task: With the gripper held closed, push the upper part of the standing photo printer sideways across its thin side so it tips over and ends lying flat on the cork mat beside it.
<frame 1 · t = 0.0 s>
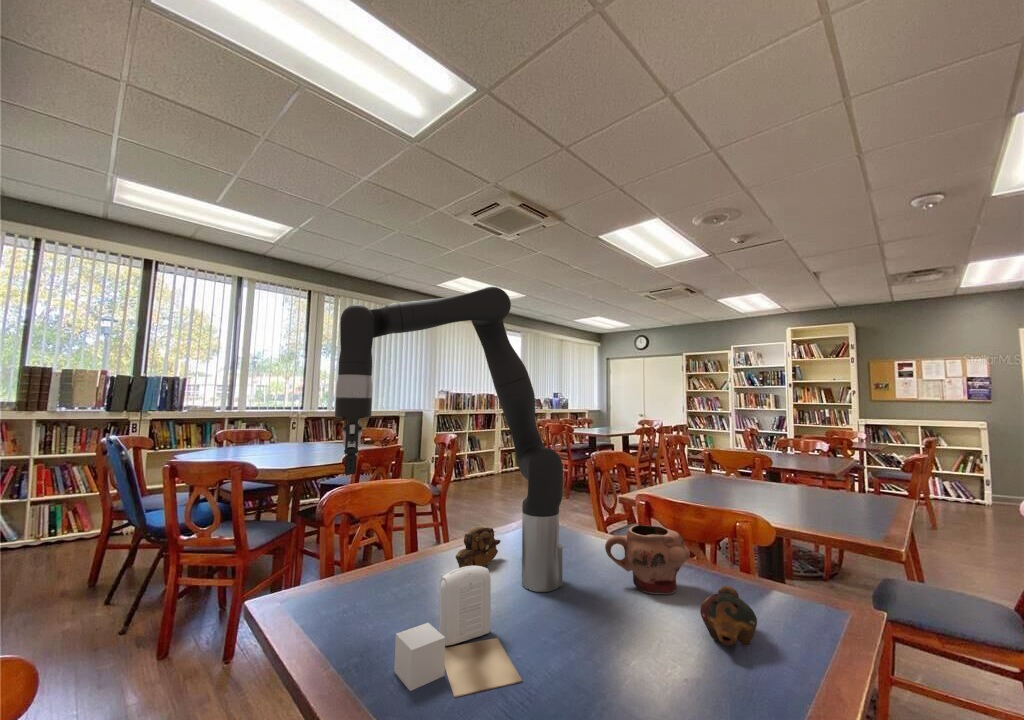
hand: (350, 471, 91), 29 cm above the table, tool pointing down, fingers open, 8 cm apart
cork mat: (478, 665, 71), on the table
wooden carving: (479, 567, 115), on the table
photo printer: (465, 637, 80), on the table, touching cork mat
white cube: (419, 675, 69), on the table
decorative turtle: (729, 641, 80), on the table
sculpted ceramic mug: (647, 588, 102), on the table
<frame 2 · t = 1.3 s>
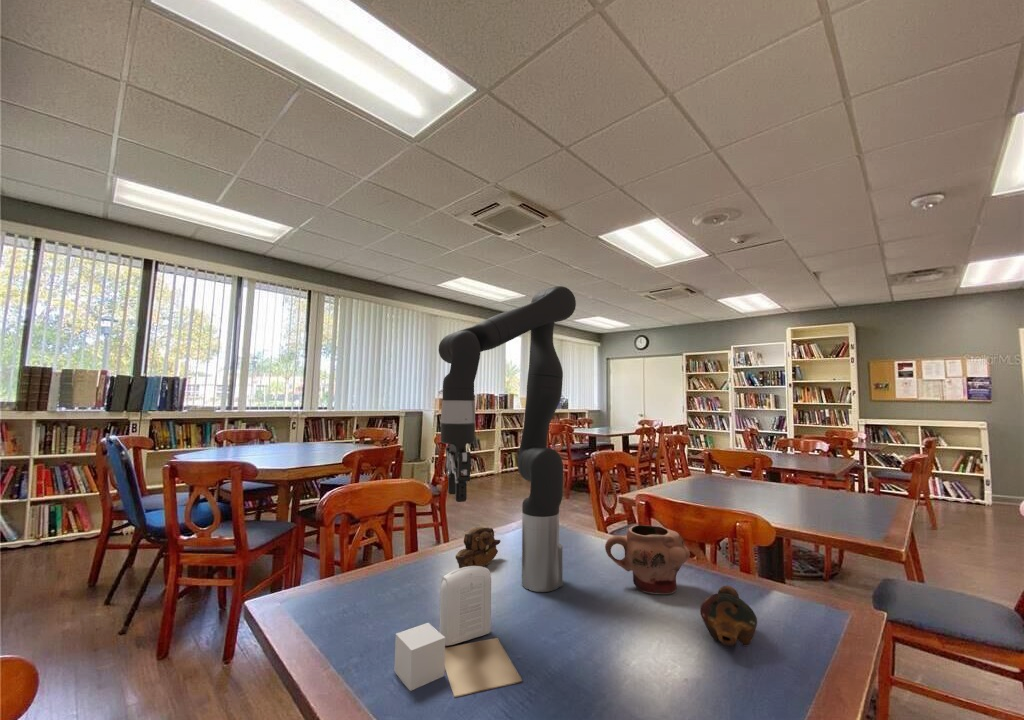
hand: (456, 497, 92), 24 cm above the table, tool pointing down, fingers open, 7 cm apart
nothing on the table moved.
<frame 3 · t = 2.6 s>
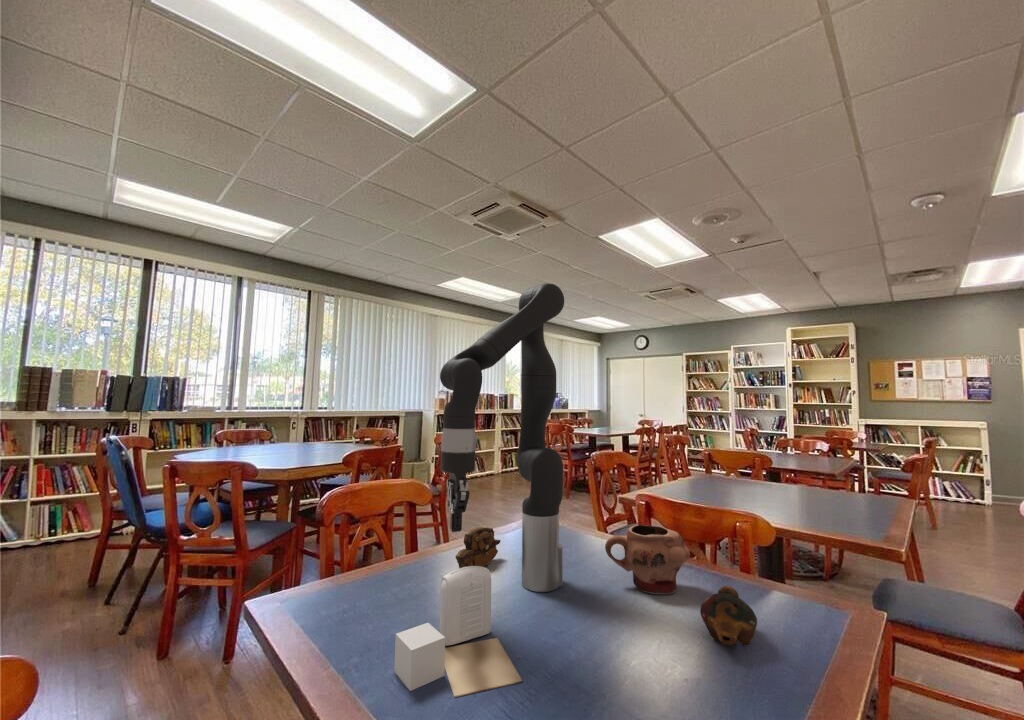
hand: (455, 530, 91), 17 cm above the table, tool pointing down, fingers closed
nothing on the table moved.
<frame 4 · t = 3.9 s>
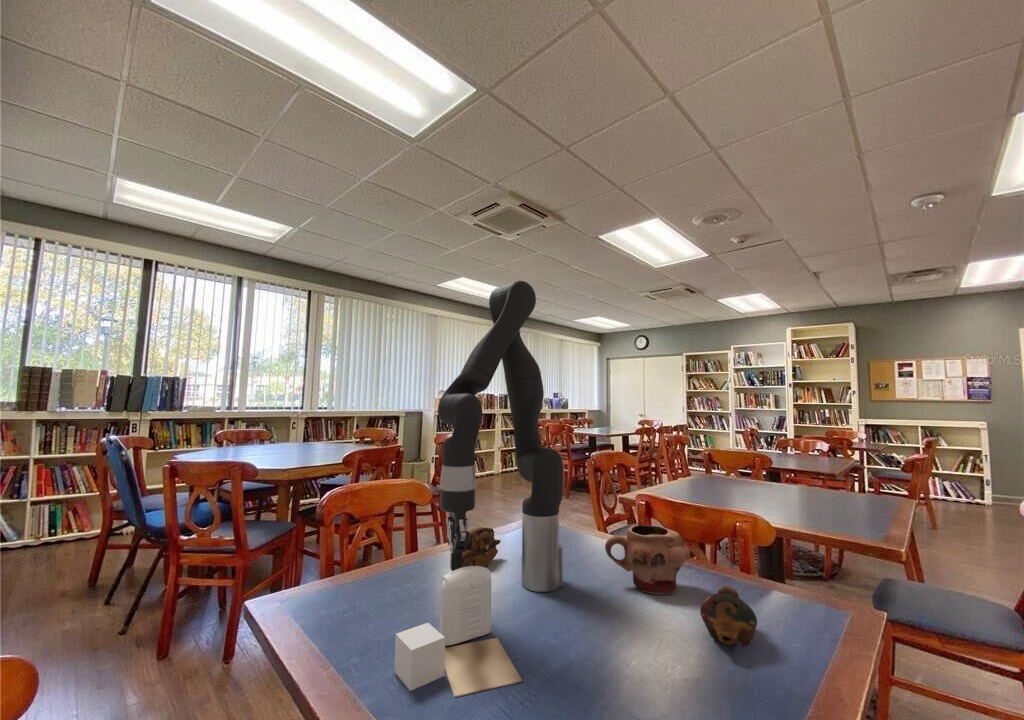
hand: (456, 570, 89), 9 cm above the table, tool pointing down, fingers closed
nothing on the table moved.
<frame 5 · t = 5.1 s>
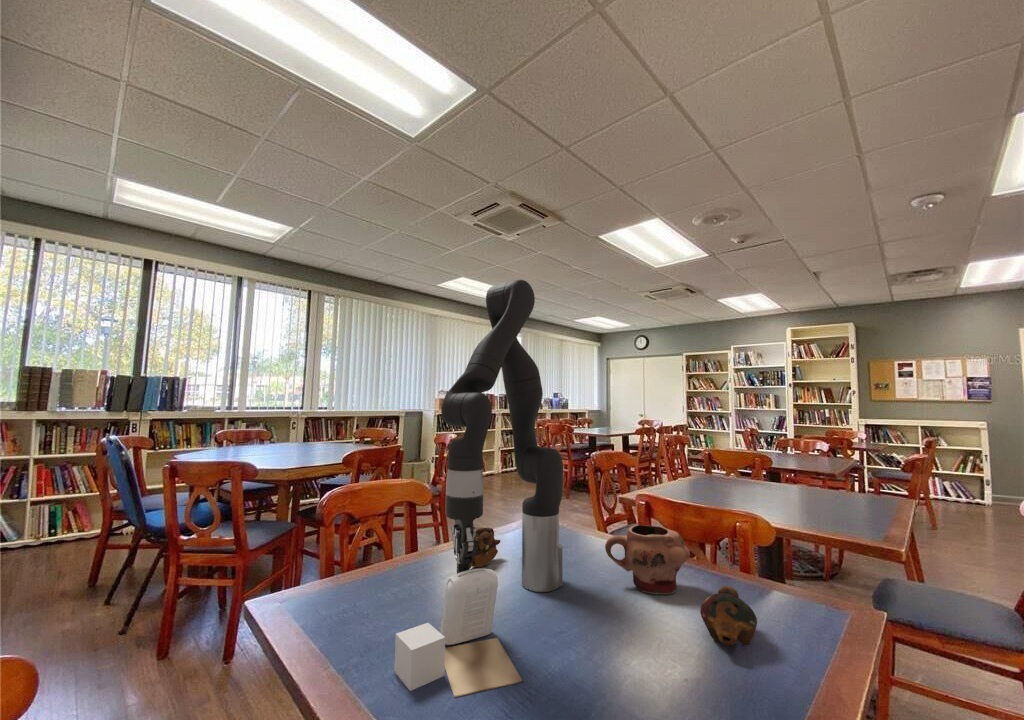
hand: (462, 582, 83), 9 cm above the table, tool pointing down, fingers closed
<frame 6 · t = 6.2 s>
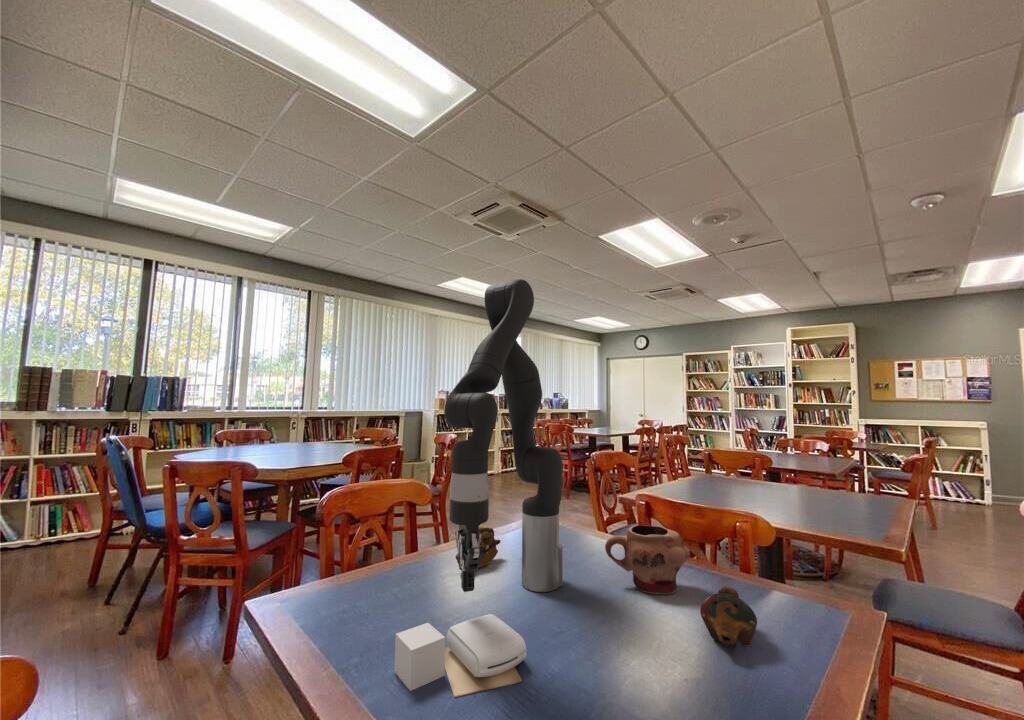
hand: (467, 589, 80), 9 cm above the table, tool pointing down, fingers closed
photo printer: (470, 628, 78), point 2 cm above the table, touching cork mat
everything else where it was.
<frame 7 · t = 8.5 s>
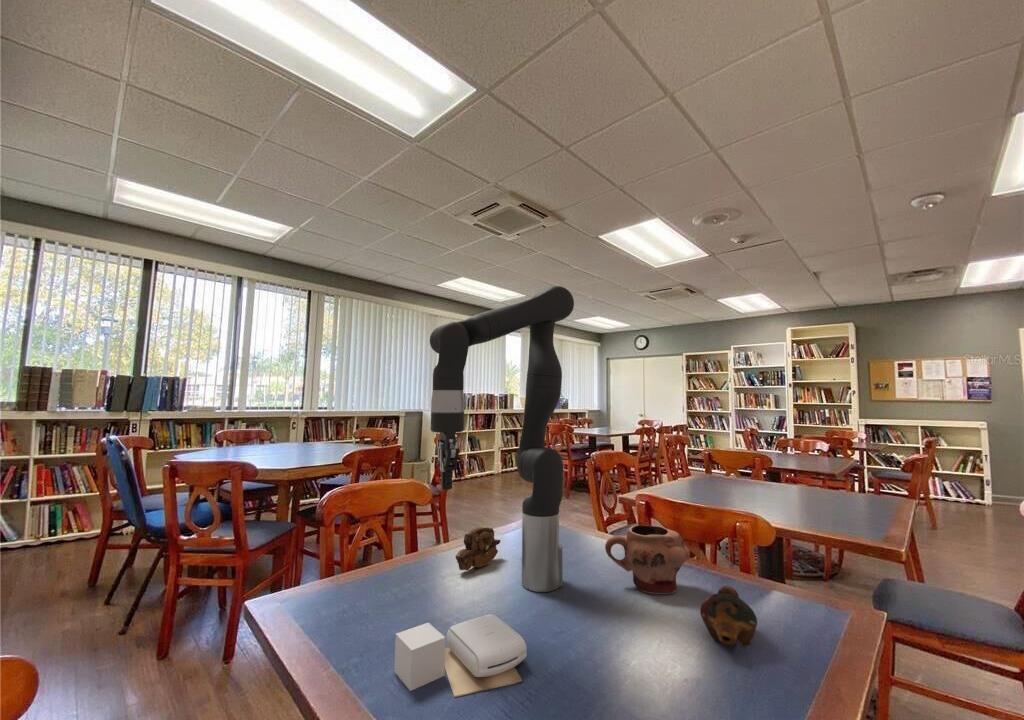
hand: (446, 488, 94), 25 cm above the table, tool pointing down, fingers closed
nothing on the table moved.
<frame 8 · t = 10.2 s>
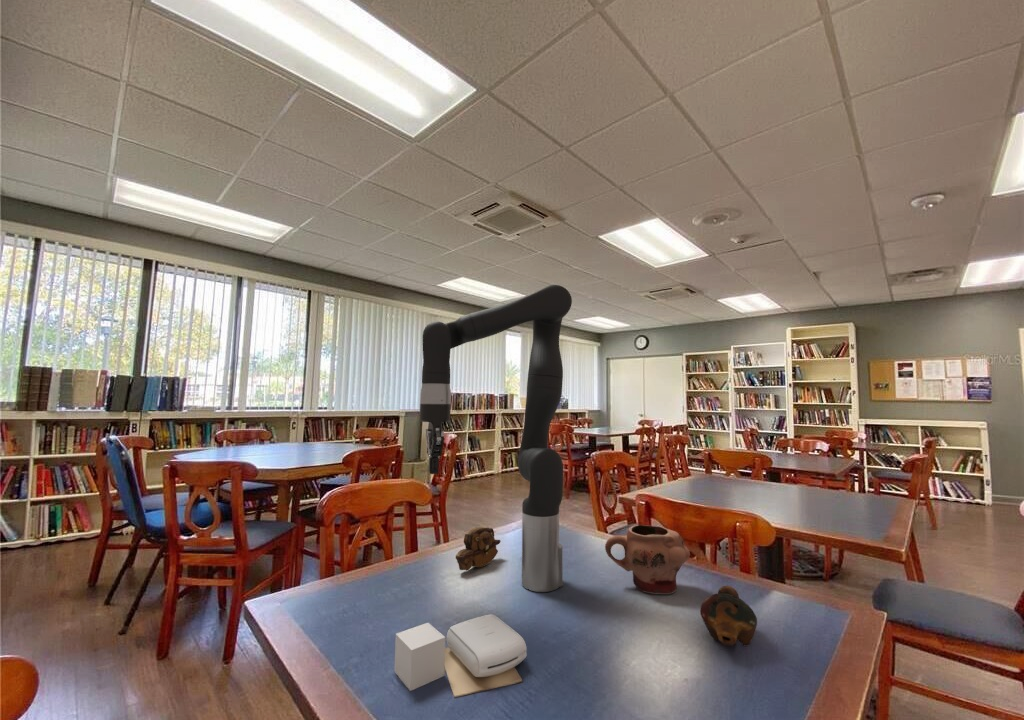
hand: (433, 473, 103), 27 cm above the table, tool pointing down, fingers closed
nothing on the table moved.
at the end: photo printer tilted 90°; photo printer touching cork mat; photo printer inside the target area (7.2 cm from its centre), point 2.3 cm above the table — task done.
